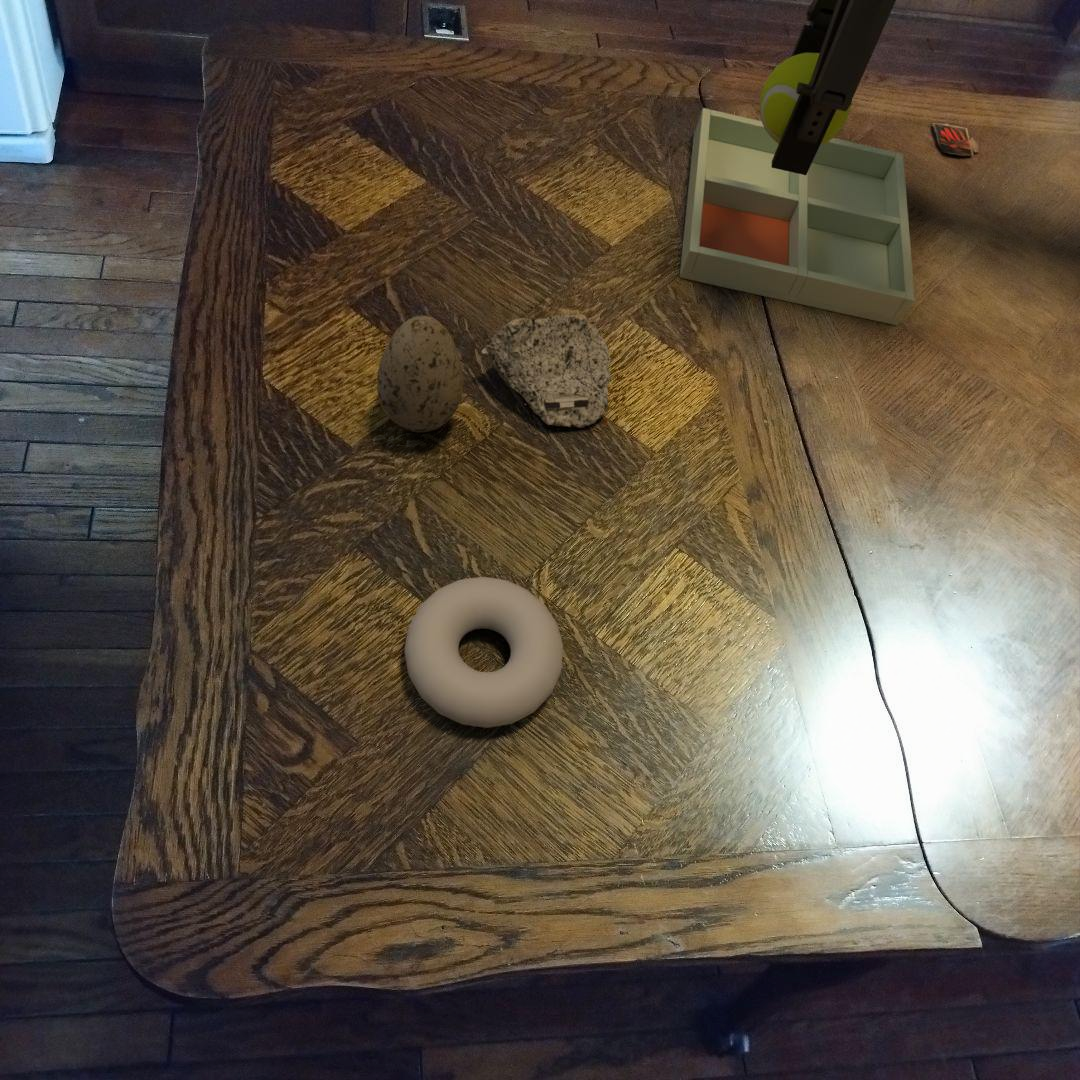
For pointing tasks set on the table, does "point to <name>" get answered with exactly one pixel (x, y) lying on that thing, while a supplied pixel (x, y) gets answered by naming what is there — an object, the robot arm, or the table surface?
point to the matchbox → (955, 140)
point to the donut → (473, 691)
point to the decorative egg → (420, 376)
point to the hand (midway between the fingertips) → (789, 137)
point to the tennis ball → (791, 96)
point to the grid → (798, 222)
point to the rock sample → (555, 367)
